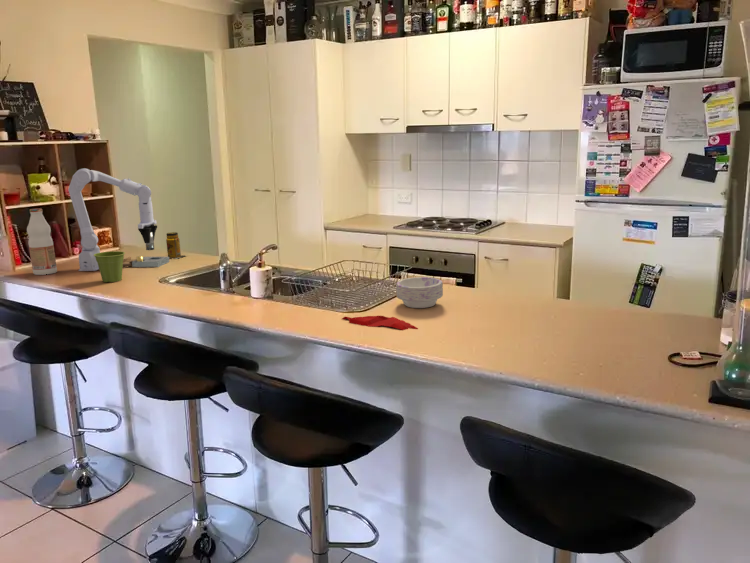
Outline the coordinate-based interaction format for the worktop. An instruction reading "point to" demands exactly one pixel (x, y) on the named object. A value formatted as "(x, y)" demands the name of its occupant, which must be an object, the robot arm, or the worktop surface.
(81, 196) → the robot arm
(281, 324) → the worktop surface
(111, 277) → the plant pot
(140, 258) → the pin
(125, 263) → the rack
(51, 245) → the fruit juice
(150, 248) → the silver metal cylinder
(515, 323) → the worktop surface
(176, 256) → the condiment
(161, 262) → the socket block
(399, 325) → the cloth
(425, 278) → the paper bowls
